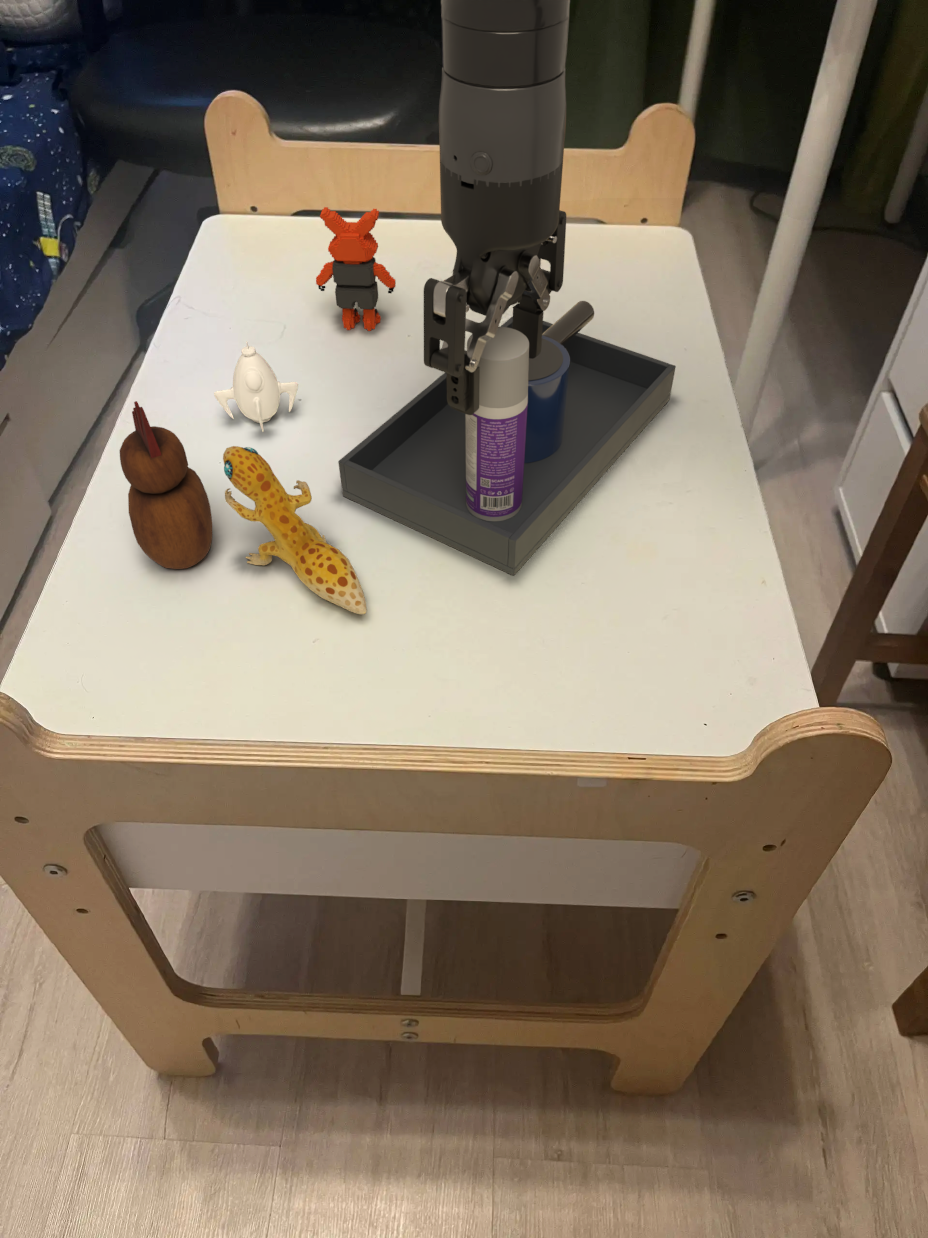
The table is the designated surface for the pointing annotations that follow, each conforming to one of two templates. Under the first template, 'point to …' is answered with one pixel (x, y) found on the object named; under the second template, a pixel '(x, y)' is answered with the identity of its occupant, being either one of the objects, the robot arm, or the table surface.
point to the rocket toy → (255, 388)
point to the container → (498, 428)
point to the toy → (290, 530)
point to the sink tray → (592, 441)
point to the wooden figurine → (165, 496)
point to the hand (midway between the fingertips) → (495, 380)
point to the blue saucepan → (551, 384)
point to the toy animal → (354, 268)
